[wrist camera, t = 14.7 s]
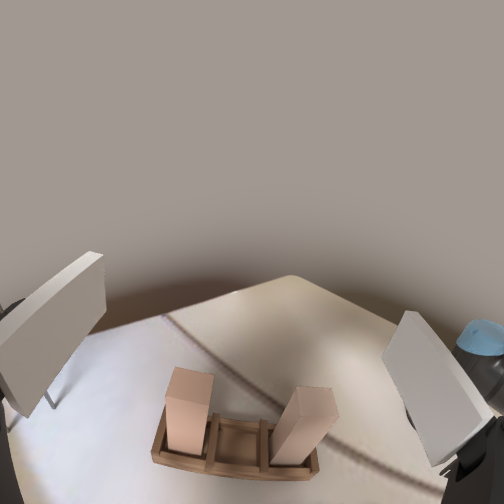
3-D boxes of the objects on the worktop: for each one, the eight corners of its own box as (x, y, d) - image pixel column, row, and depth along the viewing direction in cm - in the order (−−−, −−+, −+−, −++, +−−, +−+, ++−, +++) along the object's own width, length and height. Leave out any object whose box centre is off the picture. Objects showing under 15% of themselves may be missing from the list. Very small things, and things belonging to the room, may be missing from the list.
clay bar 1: (174, 427, 32) (175, 366, 28) (204, 433, 33) (214, 375, 28) (168, 450, 28) (165, 395, 23) (200, 457, 28) (209, 405, 24)
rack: (303, 435, 36) (311, 422, 35) (309, 480, 28) (319, 470, 26) (166, 416, 35) (165, 402, 33) (153, 462, 26) (150, 451, 25)
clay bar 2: (267, 441, 33) (296, 386, 28) (296, 442, 33) (331, 388, 29) (268, 465, 29) (300, 415, 24) (298, 466, 29) (339, 416, 24)
